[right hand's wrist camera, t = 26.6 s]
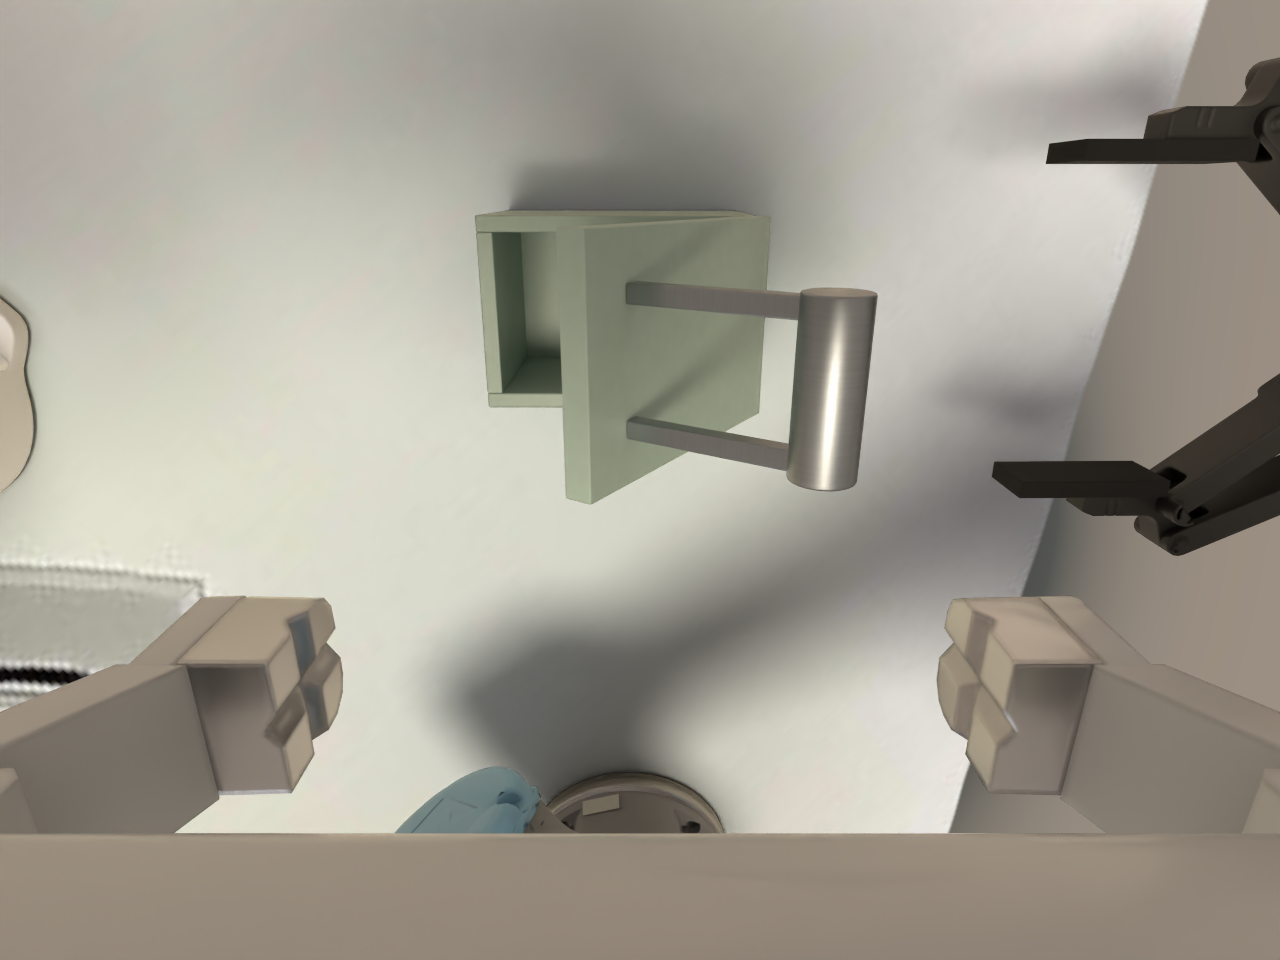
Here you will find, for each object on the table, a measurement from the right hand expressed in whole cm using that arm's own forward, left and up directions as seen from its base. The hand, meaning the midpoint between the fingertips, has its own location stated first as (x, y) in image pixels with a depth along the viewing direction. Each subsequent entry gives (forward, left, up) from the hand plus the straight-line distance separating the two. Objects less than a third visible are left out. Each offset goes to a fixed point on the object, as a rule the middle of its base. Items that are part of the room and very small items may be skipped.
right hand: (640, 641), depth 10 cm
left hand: (+8, +14, -23) cm, 29 cm away
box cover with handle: (+1, +1, -21) cm, 21 cm away
